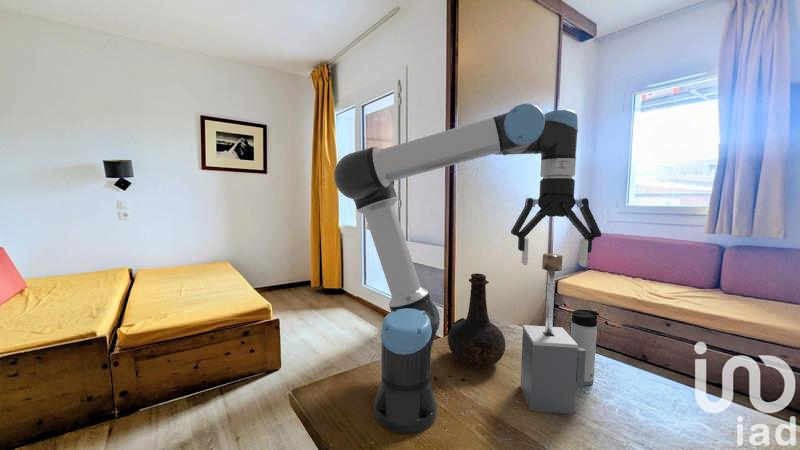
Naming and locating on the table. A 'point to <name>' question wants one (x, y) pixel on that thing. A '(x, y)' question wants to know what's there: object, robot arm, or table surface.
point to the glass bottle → (476, 331)
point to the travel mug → (585, 339)
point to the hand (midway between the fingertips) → (553, 264)
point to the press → (551, 369)
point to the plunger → (551, 286)
